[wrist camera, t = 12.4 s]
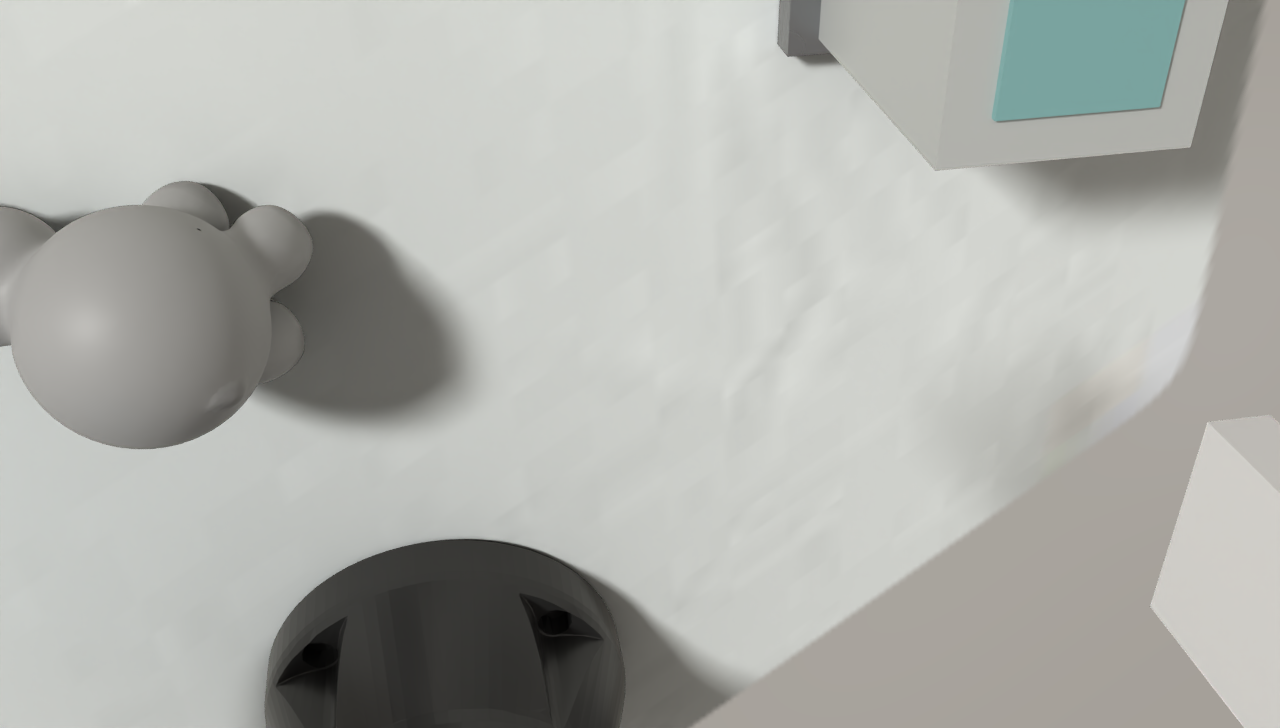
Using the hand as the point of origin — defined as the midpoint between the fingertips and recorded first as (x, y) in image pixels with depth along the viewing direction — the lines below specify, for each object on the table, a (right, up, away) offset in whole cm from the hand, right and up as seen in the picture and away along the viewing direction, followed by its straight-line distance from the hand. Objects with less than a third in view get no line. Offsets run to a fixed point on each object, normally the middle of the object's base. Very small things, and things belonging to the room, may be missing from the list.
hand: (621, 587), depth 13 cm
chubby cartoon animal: (-17, +7, +27) cm, 33 cm away
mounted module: (+9, +16, +25) cm, 31 cm away
